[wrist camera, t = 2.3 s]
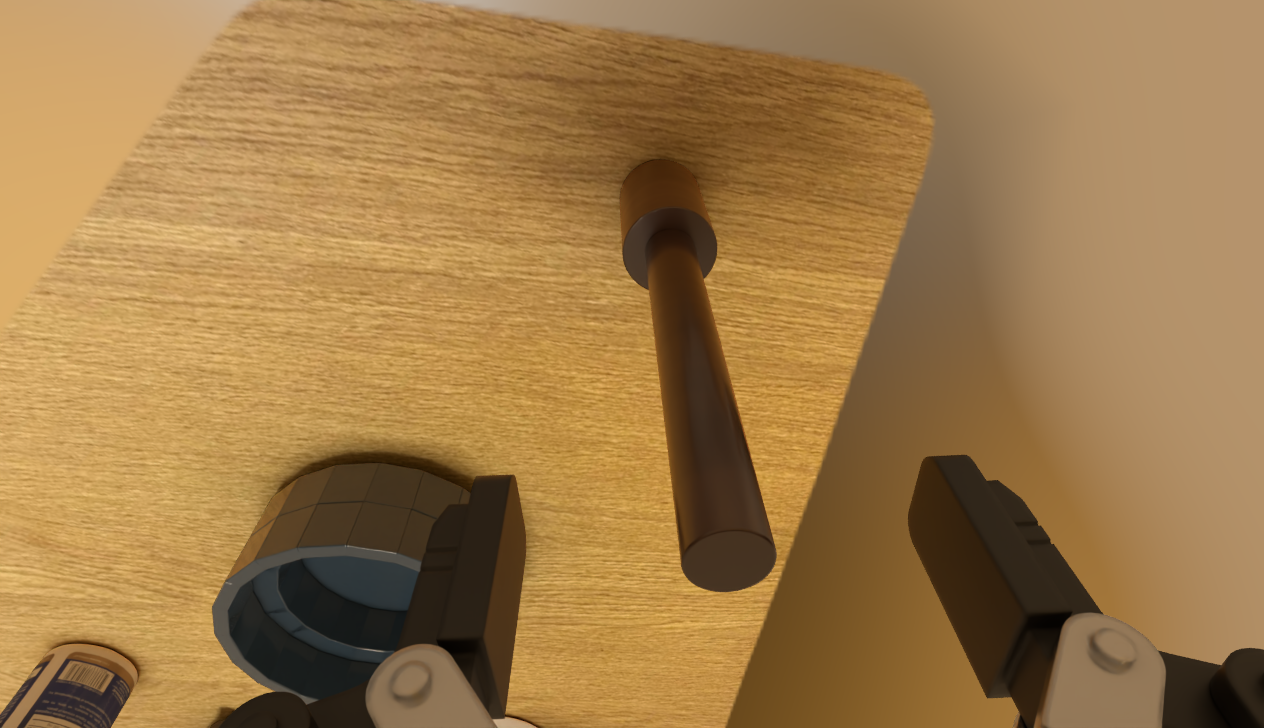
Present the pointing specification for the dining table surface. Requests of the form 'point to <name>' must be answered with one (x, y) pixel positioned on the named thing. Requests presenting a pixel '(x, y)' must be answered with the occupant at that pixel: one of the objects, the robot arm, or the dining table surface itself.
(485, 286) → the dining table surface
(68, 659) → the pill bottle
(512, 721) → the wineglass
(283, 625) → the bowl
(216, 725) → the knife
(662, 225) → the muddler
